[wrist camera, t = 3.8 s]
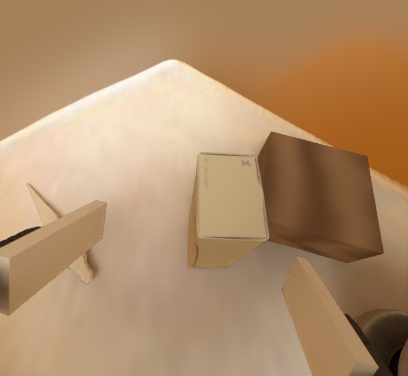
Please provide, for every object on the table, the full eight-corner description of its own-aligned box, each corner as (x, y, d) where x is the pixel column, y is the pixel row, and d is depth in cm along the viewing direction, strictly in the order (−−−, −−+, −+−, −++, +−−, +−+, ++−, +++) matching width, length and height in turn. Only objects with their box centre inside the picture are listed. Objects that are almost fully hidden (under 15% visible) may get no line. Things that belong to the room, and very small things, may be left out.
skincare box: (189, 214, 25) (195, 148, 15) (226, 215, 26) (257, 152, 15) (187, 270, 22) (193, 238, 11) (229, 270, 22) (271, 239, 12)
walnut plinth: (340, 178, 30) (367, 156, 26) (347, 262, 24) (383, 253, 20) (258, 156, 30) (271, 131, 26) (245, 233, 25) (259, 218, 20)
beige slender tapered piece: (107, 274, 21) (100, 271, 20) (83, 294, 20) (73, 293, 19) (43, 181, 26) (33, 172, 25) (21, 193, 25) (9, 185, 24)
